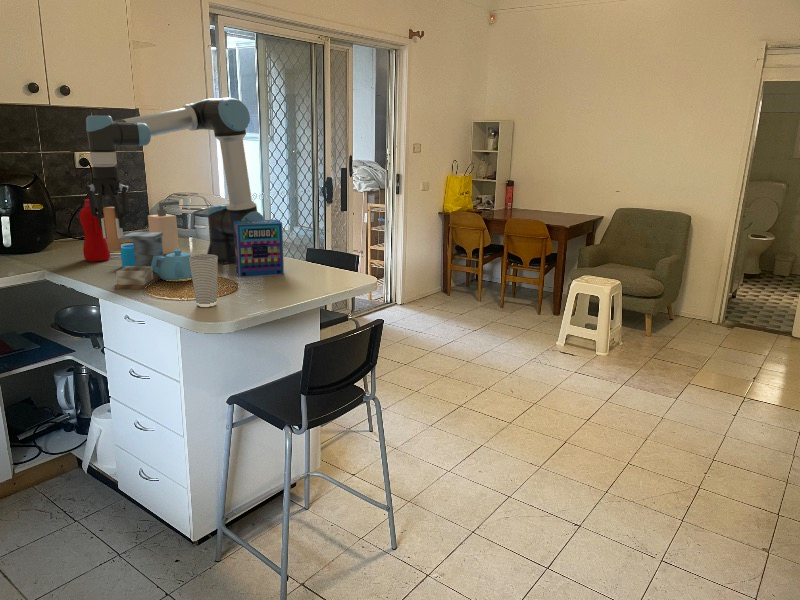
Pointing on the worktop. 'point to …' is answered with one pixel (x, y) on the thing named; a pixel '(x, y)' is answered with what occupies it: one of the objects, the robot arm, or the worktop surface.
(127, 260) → the mug
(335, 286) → the worktop surface
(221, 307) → the worktop surface
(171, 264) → the teapot
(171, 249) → the soap dispenser
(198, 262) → the cup
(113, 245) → the peg
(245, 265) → the box
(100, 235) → the water bottle
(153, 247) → the socket station
